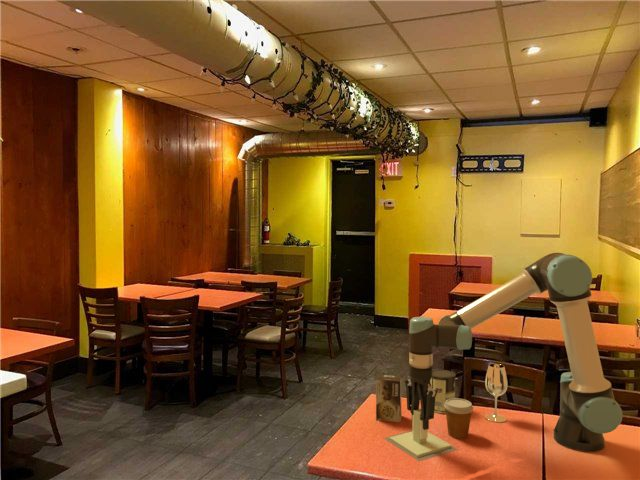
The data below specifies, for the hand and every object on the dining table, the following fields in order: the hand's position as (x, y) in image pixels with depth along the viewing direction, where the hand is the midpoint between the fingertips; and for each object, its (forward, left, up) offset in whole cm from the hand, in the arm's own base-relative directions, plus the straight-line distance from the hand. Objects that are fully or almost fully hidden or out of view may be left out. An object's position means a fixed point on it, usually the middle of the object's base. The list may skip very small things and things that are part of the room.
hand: (419, 435), depth 163 cm
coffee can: (+21, -29, -4) cm, 36 cm away
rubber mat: (0, 0, -4) cm, 4 cm away
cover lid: (0, 0, -3) cm, 3 cm away
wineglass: (+4, -40, -4) cm, 40 cm away
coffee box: (+22, -4, -4) cm, 23 cm away
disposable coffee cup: (-1, -16, -4) cm, 16 cm away
